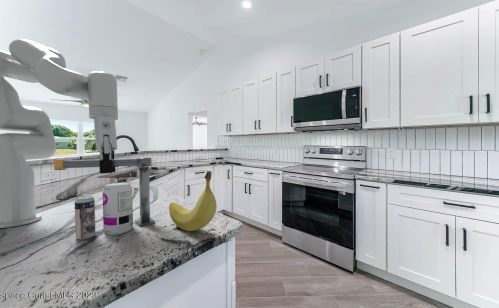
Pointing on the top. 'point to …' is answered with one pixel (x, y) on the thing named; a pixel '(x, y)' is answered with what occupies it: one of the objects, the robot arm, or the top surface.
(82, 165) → the swing arm
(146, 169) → the post
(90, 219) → the beer can
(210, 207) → the banana
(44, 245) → the top surface
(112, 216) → the supplement can
